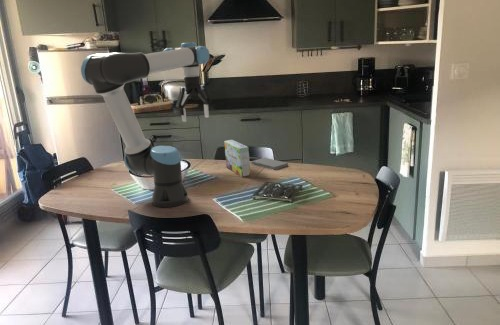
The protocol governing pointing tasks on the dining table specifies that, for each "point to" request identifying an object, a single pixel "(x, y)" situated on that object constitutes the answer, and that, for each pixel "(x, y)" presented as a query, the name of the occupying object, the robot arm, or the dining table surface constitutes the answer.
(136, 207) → the dining table surface
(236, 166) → the snack box
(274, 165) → the slate board
